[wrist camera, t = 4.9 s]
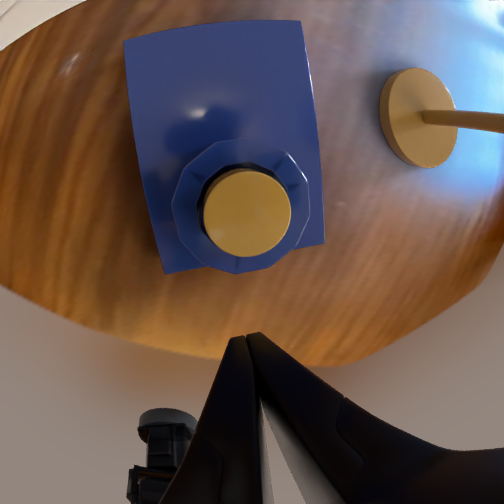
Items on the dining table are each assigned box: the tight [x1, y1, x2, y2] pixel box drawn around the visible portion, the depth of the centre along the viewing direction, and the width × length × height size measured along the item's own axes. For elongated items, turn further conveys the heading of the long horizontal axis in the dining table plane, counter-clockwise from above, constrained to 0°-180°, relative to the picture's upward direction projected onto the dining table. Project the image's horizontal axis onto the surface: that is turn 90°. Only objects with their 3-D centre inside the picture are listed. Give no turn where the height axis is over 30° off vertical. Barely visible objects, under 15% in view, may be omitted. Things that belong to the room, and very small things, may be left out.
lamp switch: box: [203, 168, 291, 257], centre depth 14 cm, size 4×4×2 cm
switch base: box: [123, 20, 325, 274], centre depth 14 cm, size 14×10×4 cm
